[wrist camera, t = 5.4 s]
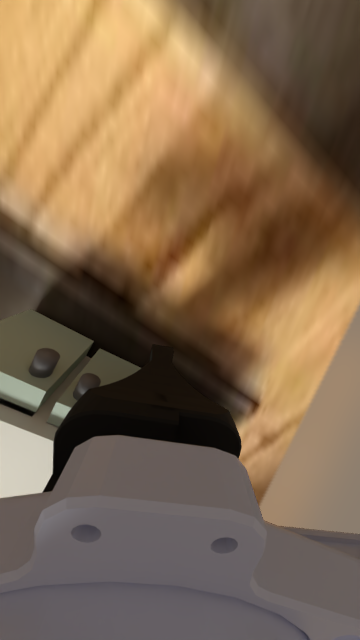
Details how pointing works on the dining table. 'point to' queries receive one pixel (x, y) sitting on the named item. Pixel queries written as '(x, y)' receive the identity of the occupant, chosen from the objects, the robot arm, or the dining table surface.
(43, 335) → the cabinet
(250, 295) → the dining table surface
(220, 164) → the dining table surface
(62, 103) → the dining table surface
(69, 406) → the door
